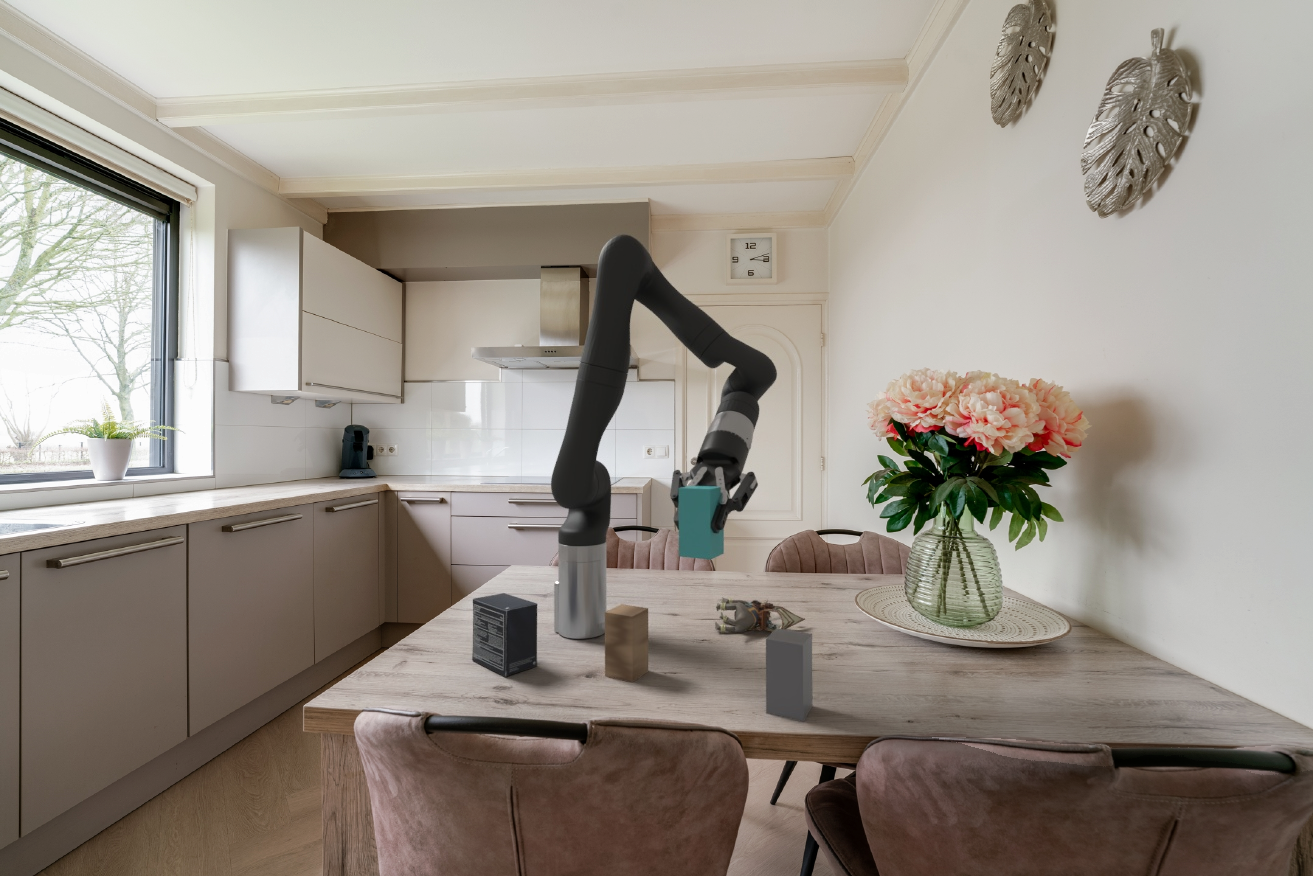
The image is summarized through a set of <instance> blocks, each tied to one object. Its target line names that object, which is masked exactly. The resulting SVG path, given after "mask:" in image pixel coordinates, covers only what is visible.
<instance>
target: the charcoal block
mask: <svg viewBox="0 0 1313 876" xmlns="http://www.w3.org/2000/svg"><path fill="white" fill-rule="evenodd" d="M778 628H779V627H777V628H776V629H775V630H774V631H773V632H771V633H770V634H769V635H768V636H767V637H766V638H765V703H766V704H765V713H766V715H767V714H768V715H772V716H776V717H781V718H785V719H789V720H793V721H798V722H802V723H803V722H805V720H806V718H807V717H808V714H809V713H810V711H811V710H812V708H813V633H809V632H803V631H796V630H791V629H778Z"/></svg>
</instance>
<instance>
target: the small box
mask: <svg viewBox="0 0 1313 876" xmlns="http://www.w3.org/2000/svg"><path fill="white" fill-rule="evenodd" d="M472 617H473V618H472V620H473V621H472V657H471V660H472V662H475V663H476V664H478V665H481V666H483V667H484V668H487V669H489V670H490V671H493V672H494V673H496V674H498V675H501V676H503V677H505V678H506V677H509V676H512V675H515V674H517V673H521V672H524V671H528V670H530V669H533V668H535V667H537V666H538V603H537V602H534V601H530V600H527V599H523V598H521V597H518V596H515V595H511V594H509V593H508V594H507V593H504V592H503V593H496V594H491V595H486V596H480V597H475V598H473V599H472Z"/></svg>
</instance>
